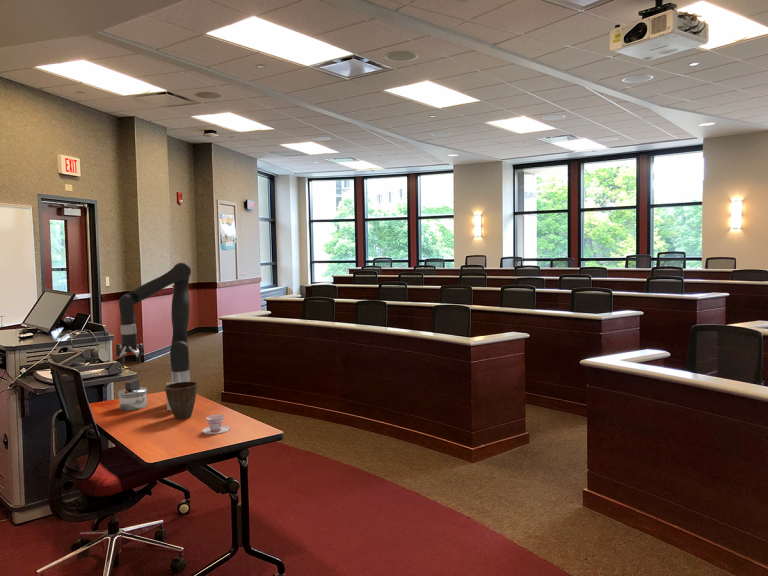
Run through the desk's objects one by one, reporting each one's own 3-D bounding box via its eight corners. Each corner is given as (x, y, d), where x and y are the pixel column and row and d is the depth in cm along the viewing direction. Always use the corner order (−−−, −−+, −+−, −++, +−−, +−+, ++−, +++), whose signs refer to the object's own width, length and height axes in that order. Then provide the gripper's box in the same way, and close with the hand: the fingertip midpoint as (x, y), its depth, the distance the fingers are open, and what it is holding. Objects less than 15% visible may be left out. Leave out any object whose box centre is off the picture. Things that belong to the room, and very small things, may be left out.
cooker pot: (152, 404, 308) (151, 389, 307) (138, 411, 294) (137, 395, 294) (129, 403, 310) (128, 389, 309) (113, 411, 296) (112, 395, 296)
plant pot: (161, 422, 274) (159, 389, 273) (174, 413, 289) (172, 381, 288) (191, 421, 273) (189, 388, 272) (203, 412, 288) (201, 381, 287)
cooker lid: (152, 389, 307) (151, 378, 307) (137, 396, 294) (136, 384, 293) (128, 389, 310) (127, 377, 309) (112, 395, 296) (111, 384, 295)
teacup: (208, 426, 265) (207, 413, 264) (233, 426, 264) (233, 413, 263) (197, 435, 253) (197, 421, 252) (224, 434, 252) (223, 421, 252)
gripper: (145, 331, 302) (147, 362, 303) (120, 332, 304) (122, 362, 305) (137, 333, 295) (139, 364, 296) (111, 334, 297) (114, 365, 298)
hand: (130, 363), depth 301 cm, fingers open, 8 cm apart
